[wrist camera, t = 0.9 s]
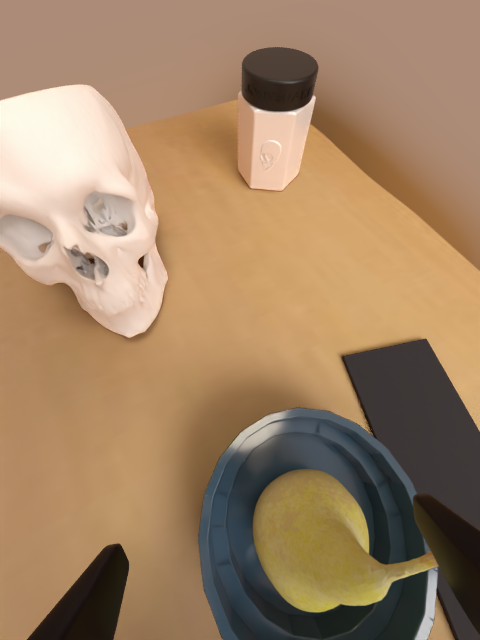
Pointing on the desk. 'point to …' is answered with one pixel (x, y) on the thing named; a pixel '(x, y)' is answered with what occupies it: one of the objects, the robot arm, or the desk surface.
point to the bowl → (369, 492)
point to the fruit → (321, 544)
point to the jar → (274, 115)
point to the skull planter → (80, 204)
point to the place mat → (424, 437)
